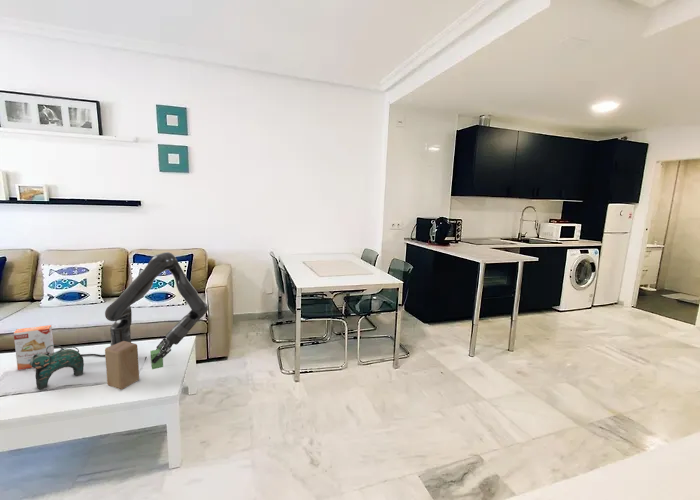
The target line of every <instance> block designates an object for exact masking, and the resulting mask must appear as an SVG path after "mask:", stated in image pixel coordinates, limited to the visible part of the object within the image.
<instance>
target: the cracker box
mask: <svg viewBox="0 0 700 500" xmlns="http://www.w3.org/2000/svg"><path fill="white" fill-rule="evenodd" d="M13 340H14V341H13V342H14V349H15V358H16V368H17V371H21V370H26V369H34V368H33V367H32V366H31V364H30V360H31V358H32V357H33V356H34V355H36V354H40V353H44V354H47V352H48V353H49V355H50V354H52V353H54V352H55V346H50V345H53V344H54V336H53V327H52V324H49V325H40V326H32V327H23V328H17V329H16V330H14V332H13ZM48 346H50V347H48ZM47 347H48V349H47ZM46 349H47V352H46Z"/></svg>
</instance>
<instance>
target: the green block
mask: <svg viewBox="0 0 700 500" xmlns="http://www.w3.org/2000/svg"><path fill="white" fill-rule="evenodd" d="M156 349H157V348H156ZM156 349H153V350H150V367H151V370H156V369H161V368H164V358H160V359H159V360H158V361H157V362H156V363H155V364H154V363H152V360H153V359H154V358H155V356H156V355H157V354H158V353H159V352H160V351H159V350H160V349H157V350H156Z"/></svg>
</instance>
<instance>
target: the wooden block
mask: <svg viewBox="0 0 700 500" xmlns="http://www.w3.org/2000/svg"><path fill="white" fill-rule="evenodd" d="M104 355H105V356H104V357H105V368H106V369H105V370H106V383H107V386H109V387H111V388H115V389H118V390H123V389H125V388H127V387H130V386H131V385H133V384H135V383H136V382H138V381H139V380H140V368H139V367H140V366H139V351H138V344H137V343H134V342H131V343H130V342H126V341H122V342H119V343H117V344H115V345H112V346H111V345H110V346H107V347H105V349H104Z"/></svg>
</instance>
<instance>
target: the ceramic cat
mask: <svg viewBox="0 0 700 500" xmlns="http://www.w3.org/2000/svg"><path fill="white" fill-rule="evenodd" d="M55 345H56V344H54V345H50V346H54V347H56V346H55ZM50 346H48V347H50ZM48 347H47V349H48ZM47 349H46V352H47ZM63 349H64V350H63ZM63 349H61V348H60V350H57V351H54V353H52V354H50V355H49V353H48V352H47V354H44V353H40V354H36V355H34V356H33V357H32V358H31V360H30V364H31V366H32V367H33V368H32V369H34V370H35V384H36V389H38V390H39V391H41V390H44V389H47V388H48V384H49V380H50V378H51V376H52V375H53V374H54V373H55V372H57V371H58V370H61V369H64V368H71V369H72V371H73V375H74V376H75V377H80V376H82V375H83V374H84V366H85V361H84V356H81V355H80V354H81V353H80V350H79V348H77V347H76V346H68V347H63ZM75 349H76V350H75Z"/></svg>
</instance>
